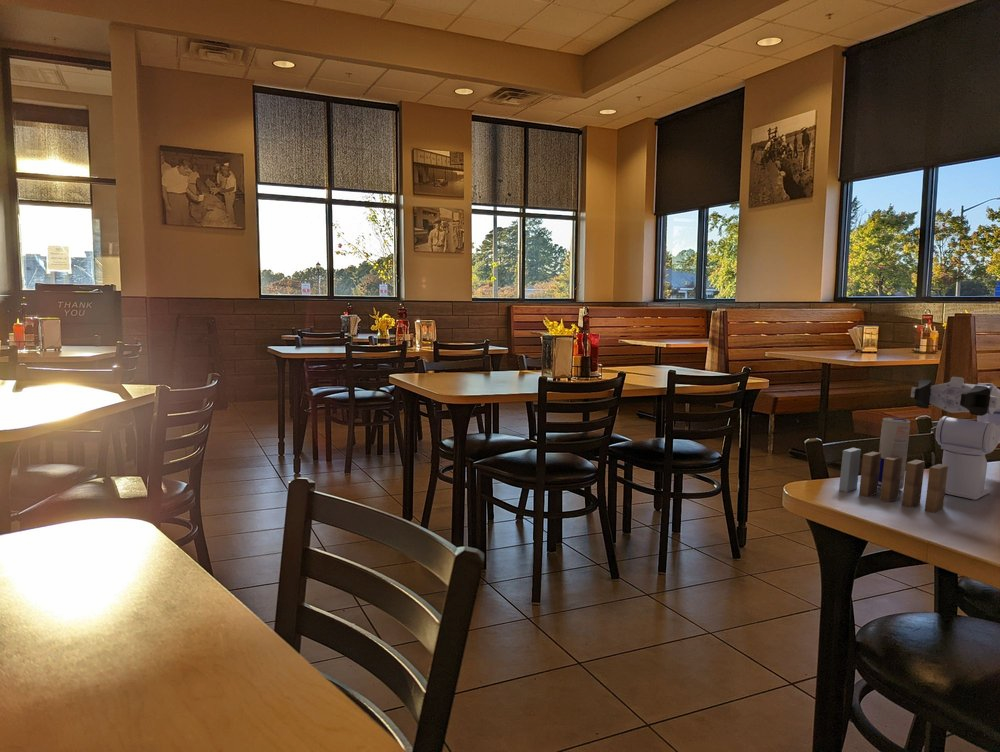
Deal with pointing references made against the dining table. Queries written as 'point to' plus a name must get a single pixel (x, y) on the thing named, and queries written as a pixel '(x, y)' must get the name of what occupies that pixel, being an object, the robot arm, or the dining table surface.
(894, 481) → the domino
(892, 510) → the dining table surface
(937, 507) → the domino
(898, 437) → the white tall box
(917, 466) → the domino
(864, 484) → the domino
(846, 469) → the domino
